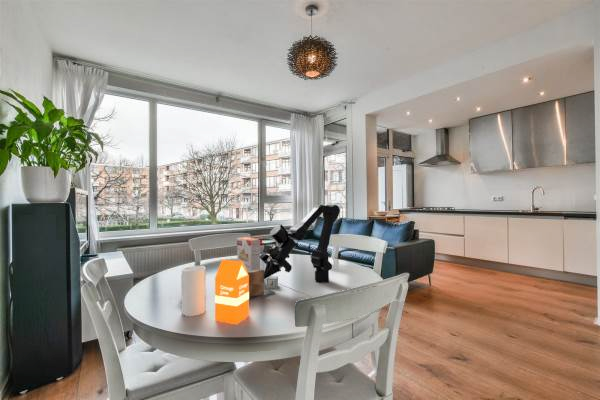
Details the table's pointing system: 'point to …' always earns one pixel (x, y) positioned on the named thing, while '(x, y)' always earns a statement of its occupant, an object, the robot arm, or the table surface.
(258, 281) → the brown wooden block
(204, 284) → the cup
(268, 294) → the rail
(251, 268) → the cracker box
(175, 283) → the table surface
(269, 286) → the letter cube
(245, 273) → the orange juice
